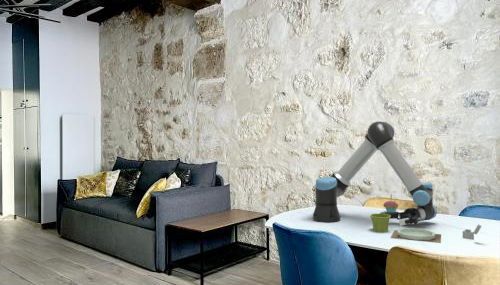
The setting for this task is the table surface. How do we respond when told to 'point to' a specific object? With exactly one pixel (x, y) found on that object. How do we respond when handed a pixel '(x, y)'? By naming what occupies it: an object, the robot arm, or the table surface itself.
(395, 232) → the walnut board
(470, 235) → the lighter
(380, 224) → the plant pot
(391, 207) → the cupcake
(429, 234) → the saucer
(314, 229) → the table surface
